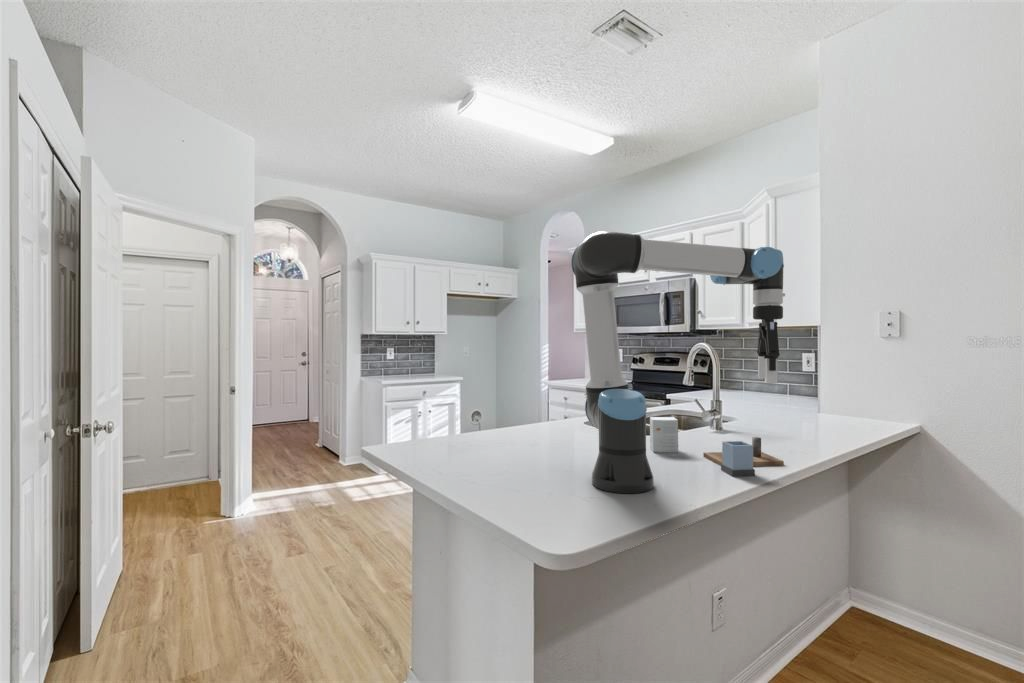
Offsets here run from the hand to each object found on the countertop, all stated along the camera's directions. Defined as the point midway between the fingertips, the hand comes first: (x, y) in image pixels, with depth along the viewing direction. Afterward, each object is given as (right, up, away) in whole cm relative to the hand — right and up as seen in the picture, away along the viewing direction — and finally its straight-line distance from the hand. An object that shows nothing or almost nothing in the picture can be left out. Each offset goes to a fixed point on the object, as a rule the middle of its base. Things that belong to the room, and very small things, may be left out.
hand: (767, 380), depth 139 cm
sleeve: (-11, -25, -5) cm, 27 cm away
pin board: (-4, -24, +7) cm, 26 cm away
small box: (-23, -25, +21) cm, 39 cm away
